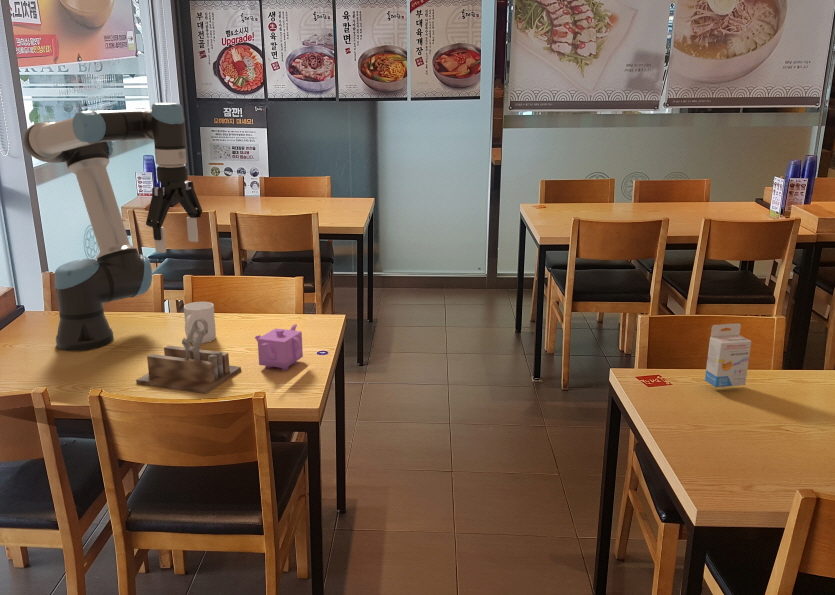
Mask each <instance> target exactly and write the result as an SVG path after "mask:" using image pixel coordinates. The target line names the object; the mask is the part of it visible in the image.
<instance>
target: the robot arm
mask: <svg viewBox="0 0 835 595" xmlns="http://www.w3.org/2000/svg"><path fill="white" fill-rule="evenodd" d="M136 140H137V141H138V140H153V142H154V144H153V145H154V156H155V157H154V158H155V159H154V160H155V164H156V165H157V166H156V169H155V170H156V180H157V181H158V182H160V187H155V186H153V187H152V188H151V199H150V204H149V209H148V212H147V218H146V222H145V225H146V227H147V226H148V227H150V228H152V235H153V240H154V245H155V246H154V247H155V248H154V249H155V252H156V253H162V254H165V253H167V245H166V242H167V241H166V231H165V229H166V228H165V227H164V226H163V224H164V223H165V219H166V217H167V215H168V213H169V210H170V207H171V206H173V204H174V203H177V202H179V204H180V205H181V207H182V209H184V212H185V213H186V214H187V215H188V216H187V217H186V227H187V241H188V242H193V243H199V233H198V232H199V231H198V230H199V229H198V228H199V224H198V221H199V220H198V218H201V217H202V214H203V209H202V207H201V206H202V205H201V204H200V200H199V199H198V196H197V194H196V191H195V186H194V182H193V181H192V180H190V181H189V180H188V179H189V176H188V167H187V166H186V164H187V162H188V161H187V153H186V152H187V151H186V129H185V117H184V109H183V106H182V104H180V103H179V102H177V103H176V102H155V103H152V104H151V109H148V108H143V107H142V108H134V109H116V110H85V111H84V110H83V111H78V112H76V113H75V114H74V116H73V117H71V118H67V119H63V120H61V121H60V120H59V121H57V120H56V121H41V122H38V123H35V124H32V125H30V126H29V127H28V128H27V129H26V130H25V132H24V134H23V145H24V148H25V151H27V153H29V155H30V156H31V157H33V158H34V159H36V160H38V161H40V162H44V163H53V164H56V163H58V164H59V163H65V164H66V166H67V170H68V171H69V172H71V173H73V174H74V175H75V176H76V180H77V183H78V186H79V189H80V193H81V196H82V198H83V202H84V205H85V206H84V207H85V209H86V212H87V215H88V217H89V221H90V224H91V227H92V228H91V229H92V230H93V234H94V237H95V240H96V244H97V247H98V250H99V253H98V255H97V256H96V258H95V259H94V258H84V259H77V260H72V261H69V262H66V263H63V264H61V265H60V266H58V267H57V268H56V270H54V288H55V293H56V294H55V295H56V300H57V307H58V314H59V322H58V326H57V327H58V328H57V334H56V336H55V342H56V343H55V344H56V347H57V348H58V349H59V350H62V351H69V352H70V351H71V352H79V351H80V352H83V351H89V350H94V349H97V348H98V349H99V348H103V347H105V346H107V345H110V344H111V343H113V342H114V340H115V339H114V332H113V330H112V328H111V326H110V325H109V321H108V320H107V317H106V315H105V310H104V309H105V308H104V304H106V303H109V302H114V301H119V300H124V299H128V298H135V297H137V296H141V295H144V294H145V293H146V292H148V291H149V290H150V288H151V286H152V282H153V270H152V268H153V267H152V265H151V262H150V260H149V259H148V257H147V256H146V255H143V254H139V251H138V248H137V247H135V246H133V245H131V243H130V241H129V237H128V234H127V231H126V228H125V224H124V221H123V218H122V215H121V212H120V208H119V205H118V202H117V198H116V195H115V192H114V189H113V186H112V184H111V179H110V175H109V173H108V170H107V167H108V165H109V164H110V158H111V157H112V154H113V152H114V151H113V145H114V144H113V142H115V141H116V142H117V141H121V142H122V141H136Z"/></svg>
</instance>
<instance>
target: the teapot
mask: <svg viewBox="0 0 835 595" xmlns="http://www.w3.org/2000/svg"><path fill="white" fill-rule="evenodd" d="M297 327H298V324H296V323H295V324H293V325H292V326H291V327H290V329H284V328H274V329H272V330H270V331H269V332H266V333H265V334H264V335H260V334H259V335H255V336H254V338H255V340H256V341H257V349H258V350H257V352H258V354H257V355H258V364H259V365H260V366H265V368H266V369H272V368H279V369H281V371H284V372H285V371H289V370H290V368H289V367H290V366H291V365H297V364H298V361H299V360H300V359H302V358H304V357H303V356H304V354H303V333H302V332H303V331H300V330H296V329H297Z"/></svg>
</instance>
